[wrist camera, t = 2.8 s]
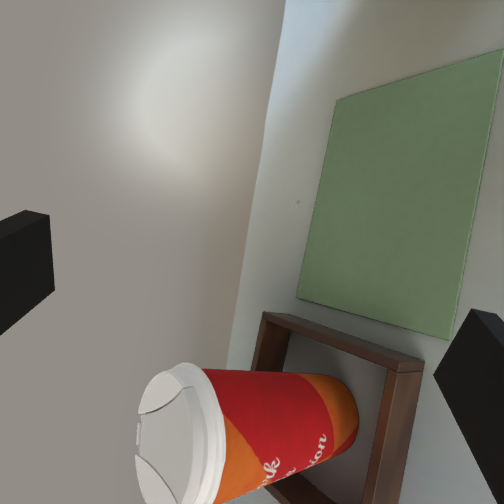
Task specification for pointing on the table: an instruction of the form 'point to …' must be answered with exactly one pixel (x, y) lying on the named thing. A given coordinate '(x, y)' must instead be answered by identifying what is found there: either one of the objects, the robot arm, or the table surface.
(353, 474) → the table surface
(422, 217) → the mat
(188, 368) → the coffee cup
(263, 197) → the table surface
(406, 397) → the crate
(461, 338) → the robot arm
